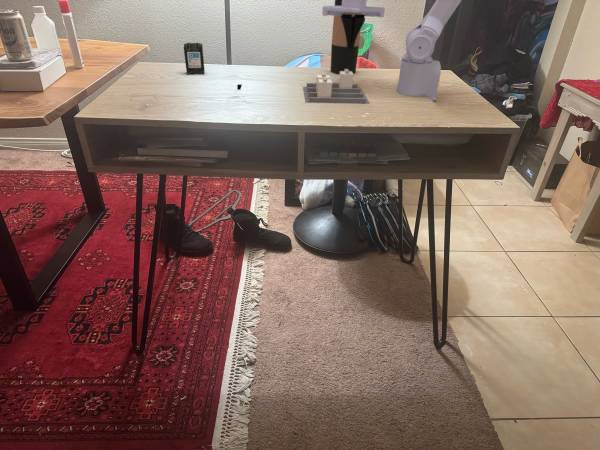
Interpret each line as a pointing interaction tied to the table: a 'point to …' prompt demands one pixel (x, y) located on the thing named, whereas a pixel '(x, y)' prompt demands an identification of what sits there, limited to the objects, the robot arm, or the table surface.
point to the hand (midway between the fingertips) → (349, 48)
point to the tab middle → (321, 78)
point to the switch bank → (336, 95)
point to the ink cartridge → (194, 58)
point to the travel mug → (342, 47)
